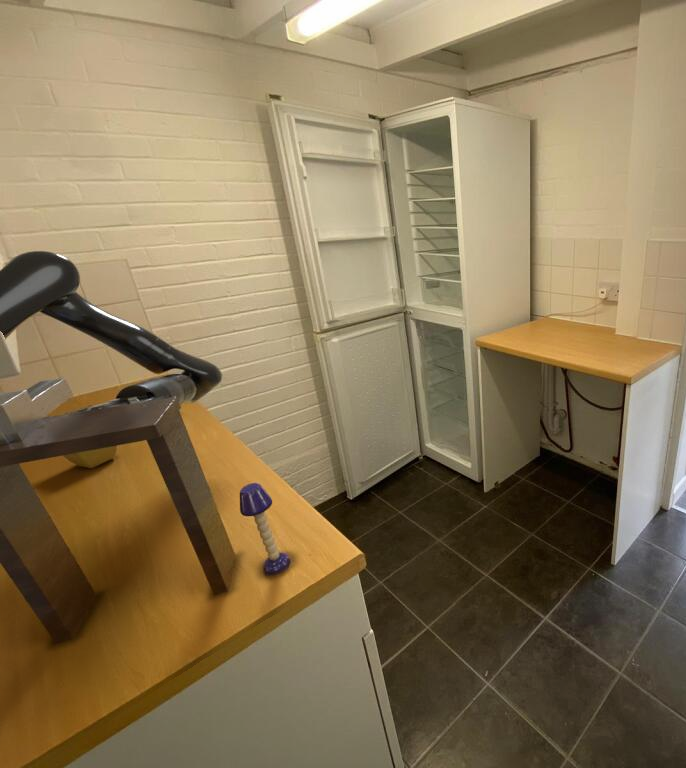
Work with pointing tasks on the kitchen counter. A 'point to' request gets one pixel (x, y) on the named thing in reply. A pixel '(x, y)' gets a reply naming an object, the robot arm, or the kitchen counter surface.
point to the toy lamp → (263, 525)
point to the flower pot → (92, 457)
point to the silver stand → (30, 408)
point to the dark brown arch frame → (43, 540)
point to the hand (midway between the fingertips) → (88, 423)
